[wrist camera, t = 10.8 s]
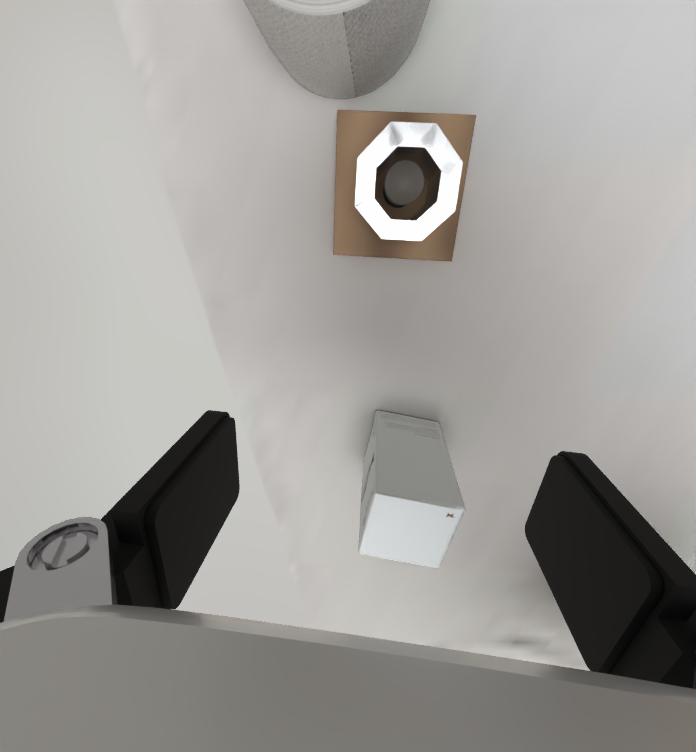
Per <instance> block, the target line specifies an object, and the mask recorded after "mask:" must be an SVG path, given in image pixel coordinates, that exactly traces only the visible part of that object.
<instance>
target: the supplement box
mask: <svg viewBox="0 0 696 752" xmlns="http://www.w3.org/2000/svg"><path fill="white" fill-rule="evenodd" d="M464 511H465V506H464V503H463V499H462V496H461V493H460V489H459V486H458V483H457V480H456V476H455V473H454V470H453V467H452V463H451V460H450V457H449V453H448V450H447V447H446V444H445V440H444V437H443V434H442V431H441V427H440V423H439V422H435V421H430V420H425V419H420V418H416V417H410V416H405V415H400V414H395V413H390V412H385V411H378V410H377V411H376V412H375V417H374V423H373V427H372V431H371V435H370V439H369V443H368V447H367V450H366V454H365V457H364V460H363V477H362V492H361V510H360V532H359V550H358V553H359V554H363V555H367V556H373V557H378V558H383V559H388V560H394V561H399V562H405V563H411V564H416V565H422V566H427V567H432V568H436V569H438V568H439V567H440V565H441V563H442V561H443V558H444V556H445V554H446V551H447V549H448V547H449V545H450V542H451V541H452V538H453V536H454V533H455V531H456V529H457V526H458V524H459V522H460V520H461V518H462V515H463V513H464Z"/></svg>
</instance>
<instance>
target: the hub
mask: <svg viewBox="0 0 696 752" xmlns="http://www.w3.org/2000/svg"><path fill="white" fill-rule="evenodd" d="M403 160H409V161H412V162H414V163H416V164H417V165H418V166H419V167H420V168H421V170H422V172H423V176H424V177H425V178H426V180H427V181H428V184H427V192H426V200H425V206H424V207H423V208H422V209H421V210H420V211H418V212H417V213H416V214H415V215H414V216H413V217H412V218H411V219H410V220H392V219H390V218H389V217H388V215H387V214H386V213H385V211H384V210H383V209H382V208H381V206H380V205H379V204H378V203H377V201H376V200H375V188H376V179H377V178H378V177H379V176H380V175H381V174H382V173H383V172H384V171H385V170H386V169H387V168H388V167H389V166H390V165H391V164H392V163H393V162H399V161H403ZM462 165H463V162H462V160H461V159H460V157H459V156H458V154H457V153H456V151H455V150H454V148H453V147H452V145H451V144H450V142H449V141H448V139H447V138H446V137H445V135H444V134H443V132H442V131H441V129H440V128H439V126H438V125H437V123H415V122H392V121H391V122H390V123H389V124H388V125H387V127H386V128H385V129H384V130H383V131H382V132H381V133H380V134H379V135H378V136H377V137H376V138H375V139H374V141H373V142H372V143H371V144H370V145H369V146H368V147H367V148H366V149H365V150H364V151H363V152H362V153H361V154H360V156H359V157H357V176H356V196H355V207H356V208H357V209H358V210H359V212H360V213H361V214H362V215H363V217H364V218H365V219H366V220H367V222H368V223H369V224H370V225H371V227H372V228H373V229H374V230H375V232H376V233H377V234H378V235H379V236H380V238H381V239H393V240H411V241H422V240H423V239H424V238H425V237H427V236H428V235H429V234H430V233H431V232H432V231H433V230H434V229H436V228H437V227H438V226H439V225H440V224H441V223H442V222H443V221H444V220H446V219H447V218H448V217H449V216H450V215H451V214H452V213H453V212H455V209H456V202H457V196H458V190H459V184H460V178H461V172H462Z"/></svg>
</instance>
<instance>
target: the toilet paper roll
mask: <svg viewBox="0 0 696 752" xmlns="http://www.w3.org/2000/svg"><path fill="white" fill-rule="evenodd" d="M429 1H430V0H244V2H245V4H246V6H247V7H248V9H249V11H250V13H251V15H252V17H253V18H254V20H255V22H256V24H257V26H258V28H259V29H260V31H261V33H262V35H263V37H264V39H265V40H266V42H267V44H268V46H269V47H270V49H271V50H272V51H273V53H274V54H275V55H276V57H277V58H278V59H279V61H280V62H281V63H282V65H283V66H284V67H285V69H286V70H287V71H288V73H289V74H290V75H291V76H292V77H293V78H294V79H295V80H296V81H297V82H298V83H299V84H300V85H302V86H303V87H304V88H306V89H307V90H309V91H311V92H313V93H315V94H317V95H320V96H324V97H328V98H334V99H346V98H353V97H358V96H361V95H364V94H367V93H369V92H371V91H373V90H375V89H377V88H378V87H380V86H381V85H383V84H384V83H385V82H386V81H387V80H389V79H390V78H391V77H392V76H393V75H394V74H395V73H396V72H397V71H398V69H399V68H400V67H401V66H402V64H403V63H404V61H405V60H406V58H407V57H408V55H409V53H410V52H411V50H412V48H413V46H414V44H415V42H416V39H417V37H418V34H419V32H420V29H421V26H422V23H423V20H424V17H425V14H426V11H427V8H428V5H429Z"/></svg>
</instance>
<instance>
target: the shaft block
mask: <svg viewBox="0 0 696 752" xmlns="http://www.w3.org/2000/svg"><path fill="white" fill-rule="evenodd" d="M475 119H476V115H462V114H435V113H409V112H382V111H355V110H337V143H336V178H335V213H334V249H333V255H350V256H367V257H385V258H402V259H419V260H436V261H452V256H453V250H454V244H455V238H456V232H457V226H458V220H459V214H460V208H461V202H462V196H463V190H464V185H465V179H466V173H467V167H468V161H469V155H470V149H471V143H472V137H473V131H474V125H475ZM391 121H392V122H415V123H437V125H438V126H439V128H440V129H441V131H442V132H443V134H444V135H445V137H446V138H447V139H448V141H449V142H450V144H451V145H452V147H453V148H454V150H455V151H456V153H457V154H458V156H459V157H460V159H461V160H462V162H463V165H462V172H461V178H460V184H459V190H458V196H457V202H456V209H455V212H453V213H452V214H451V215H450V216H449V217H448V218H447V219H446V220H444V221H443V222H442V223H441V224H440V225H439V226H438V227H437V228H436V229H434V230H433V231H432V232H431V233H430V234H429V235H428V236H427V237H425V238H424V239H423V240H422V241H411V240H393V239H381V238H380V236H379V235H378V234H377V233H376V232H375V230H374V229H373V228H372V227H371V225H370V224H369V223H368V222H367V220H366V219H365V218H364V217H363V215H362V214H361V213H360V212H359V210H358V209H357V208H356V207H355V196H356V176H357V157H359V156H360V154H361V153H362V152H363V151H364V150H365V149H366V148H367V147H368V146H369V145H370V144H371V143H372V142H373V141H374V139H375V138H376V137H377V136H378V135H379V134H380V133H381V132H382V131H383V130H384V129H385V128H386V127H387V125H388V124H389V123H390V122H391ZM427 184H428V181H427V180H426V178H425V177H424V176H423V172H422V170H421V168H420V167H419V166H418V165H417V164H416V163H414V162H412V161H409V160H403V161H399V162H393V163H392V164H391V165H390V166H389V167H388V168H387V169H386V170H385V171H384V172H383V173H382V174H381V175H380V176H379V177H378V178H377V179H376V188H375V200H376V201H377V203H378V204H379V205H380V206H381V208H382V209H383V210H384V211H385V213H386V214H387V215H388V217H389V218H390V219H392V220H410V219H411V218H412V217H413V216H414V215H415V214H416V213H417V212H418V211H420V210H421V209H422V208H423V207H424V206H425V200H426V192H427Z"/></svg>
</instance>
